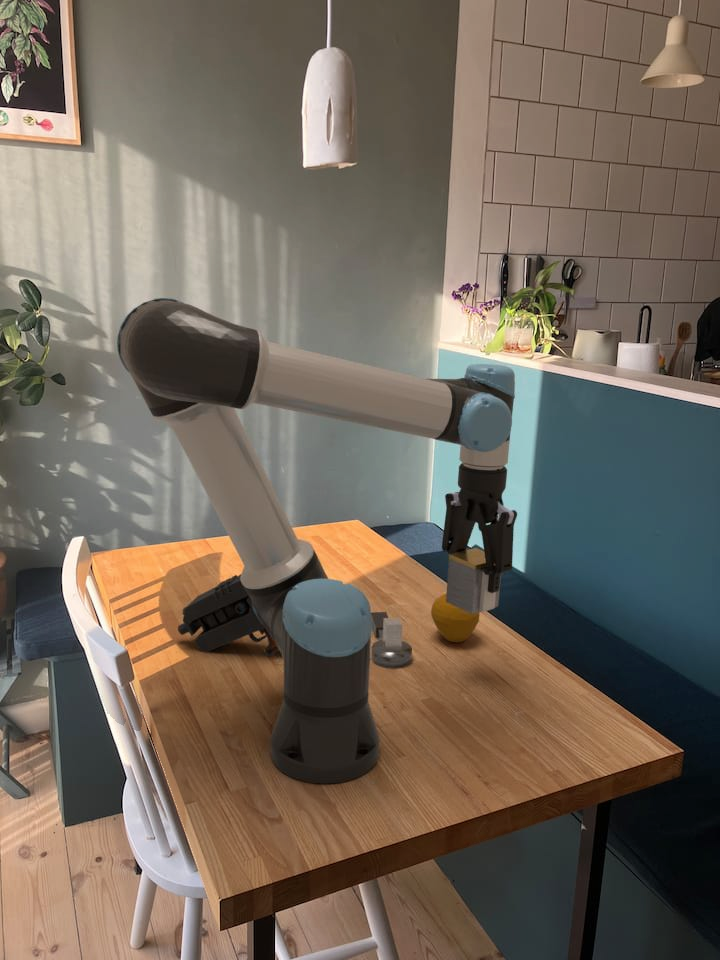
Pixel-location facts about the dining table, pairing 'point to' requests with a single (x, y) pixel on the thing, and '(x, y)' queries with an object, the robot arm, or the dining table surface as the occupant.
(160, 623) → the dining table surface
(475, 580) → the lidded square canister
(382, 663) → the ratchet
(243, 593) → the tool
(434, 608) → the apple
